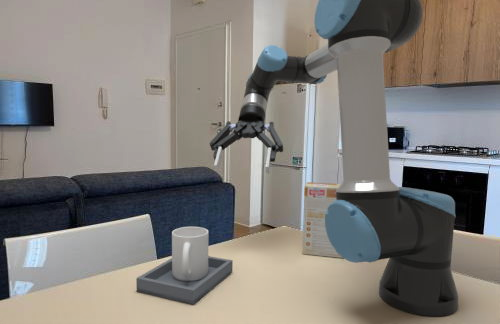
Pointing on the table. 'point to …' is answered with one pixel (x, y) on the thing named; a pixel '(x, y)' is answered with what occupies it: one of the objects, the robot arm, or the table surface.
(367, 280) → the table surface
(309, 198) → the coffeecake box
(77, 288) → the table surface
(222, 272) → the tray
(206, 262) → the mug
